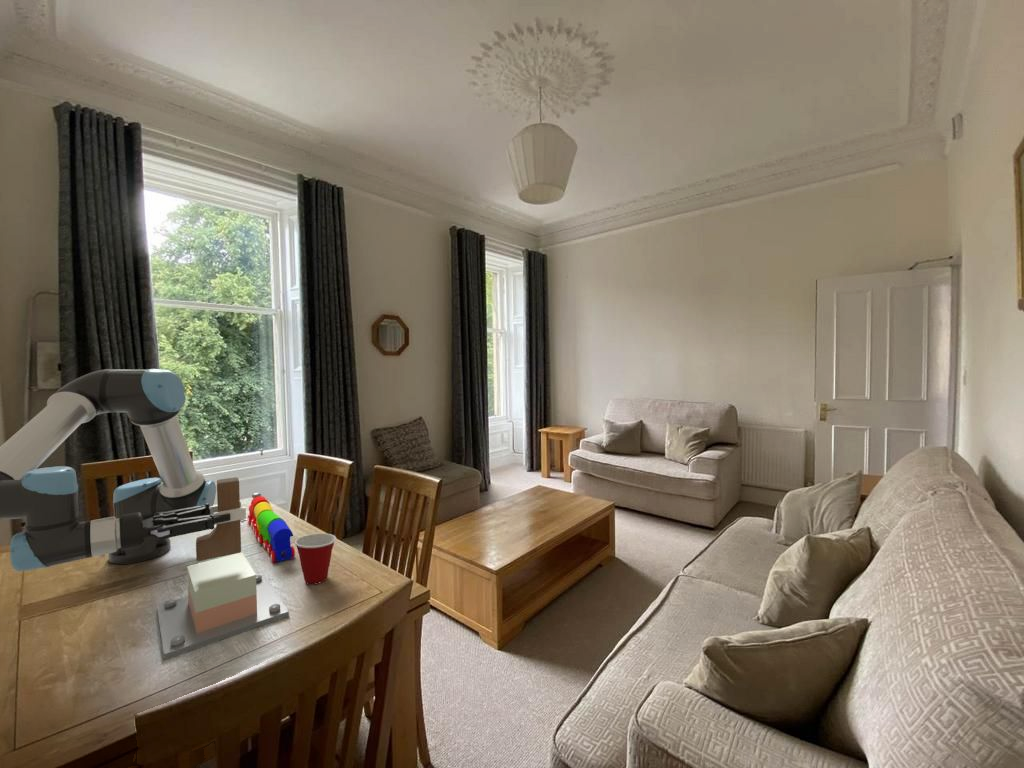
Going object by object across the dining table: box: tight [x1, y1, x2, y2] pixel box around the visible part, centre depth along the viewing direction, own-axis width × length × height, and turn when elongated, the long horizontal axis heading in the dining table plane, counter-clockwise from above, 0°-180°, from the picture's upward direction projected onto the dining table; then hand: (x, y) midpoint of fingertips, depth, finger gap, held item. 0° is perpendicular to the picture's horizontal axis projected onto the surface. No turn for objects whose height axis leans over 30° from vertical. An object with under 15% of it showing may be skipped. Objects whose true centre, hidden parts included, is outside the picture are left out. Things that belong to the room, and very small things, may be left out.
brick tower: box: [156, 552, 290, 661], centre depth 109 cm, size 24×24×11 cm
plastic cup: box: [294, 533, 337, 585], centre depth 126 cm, size 11×11×12 cm
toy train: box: [247, 492, 296, 564], centre depth 153 cm, size 45×7×11 cm, turn 41°
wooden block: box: [195, 476, 242, 562], centre depth 108 cm, size 9×4×18 cm, turn 124°
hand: (242, 509), depth 111 cm, fingers closed on wooden block, 5 cm apart
